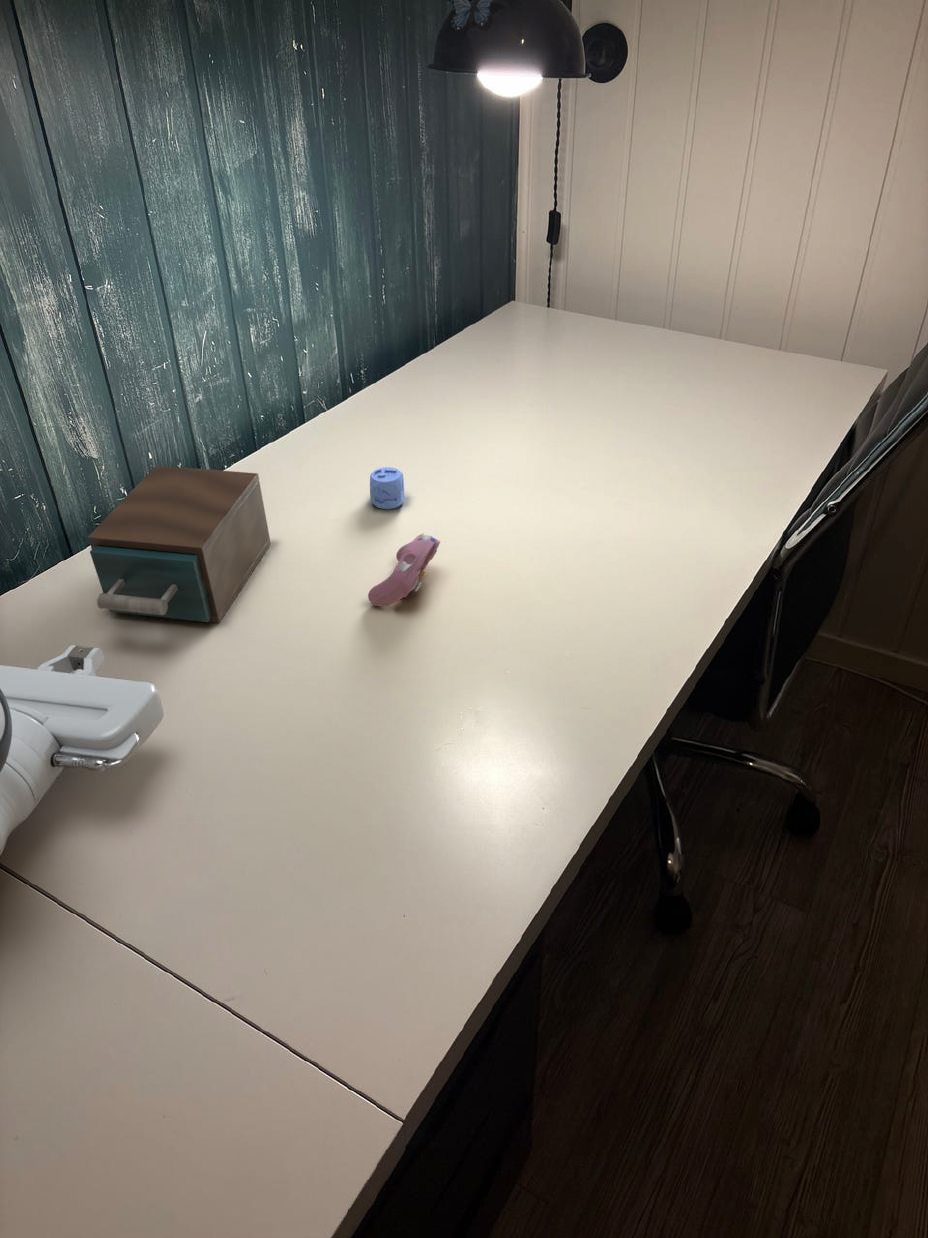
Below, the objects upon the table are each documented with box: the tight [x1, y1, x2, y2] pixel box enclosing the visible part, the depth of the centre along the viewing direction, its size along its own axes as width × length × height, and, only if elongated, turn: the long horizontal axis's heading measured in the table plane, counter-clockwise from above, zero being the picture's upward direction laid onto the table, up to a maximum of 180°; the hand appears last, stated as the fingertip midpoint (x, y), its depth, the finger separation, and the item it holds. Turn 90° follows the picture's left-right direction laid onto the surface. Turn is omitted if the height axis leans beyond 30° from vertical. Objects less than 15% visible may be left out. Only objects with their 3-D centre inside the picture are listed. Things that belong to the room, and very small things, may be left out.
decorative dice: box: [369, 466, 405, 510], centre depth 118 cm, size 4×4×4 cm
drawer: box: [89, 546, 212, 623], centre depth 101 cm, size 19×12×8 cm, turn 169°
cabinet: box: [87, 465, 272, 624], centre depth 104 cm, size 16×13×10 cm
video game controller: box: [367, 532, 441, 607], centre depth 102 cm, size 10×5×7 cm, turn 161°
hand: (88, 651), depth 86 cm, fingers closed
